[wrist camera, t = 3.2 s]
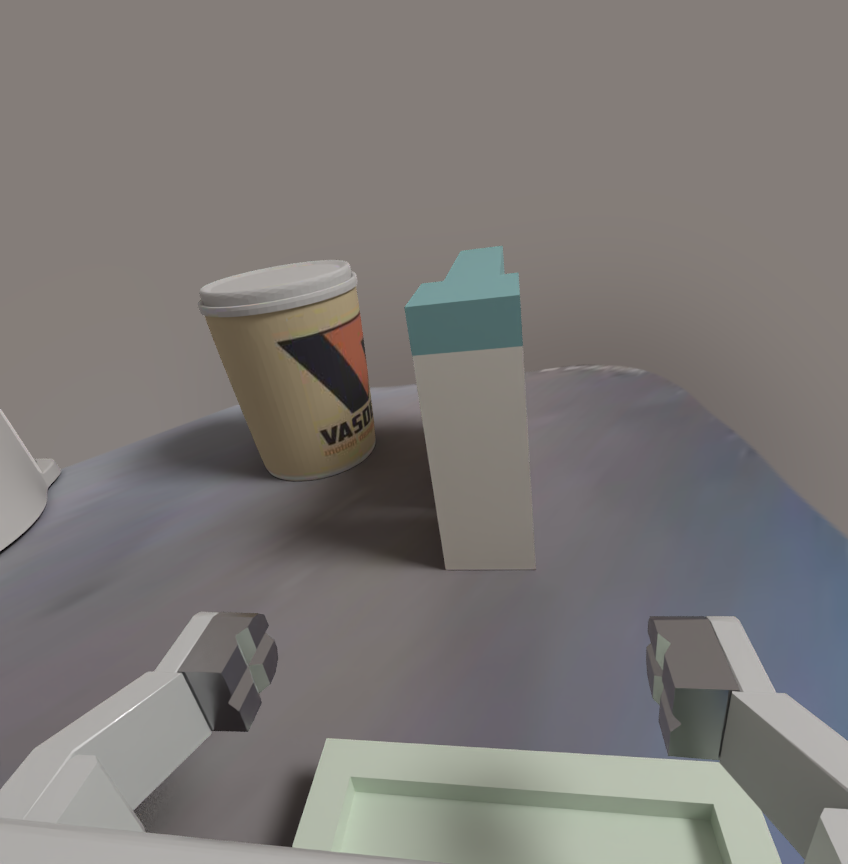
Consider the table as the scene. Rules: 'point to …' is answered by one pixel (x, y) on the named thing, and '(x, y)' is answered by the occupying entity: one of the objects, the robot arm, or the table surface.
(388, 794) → the tray
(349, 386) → the coffee cup
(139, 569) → the table surface
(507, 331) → the white teal-topped block
